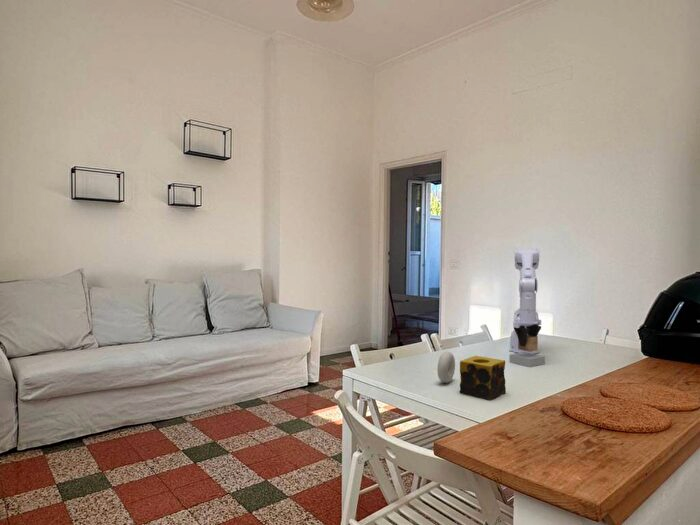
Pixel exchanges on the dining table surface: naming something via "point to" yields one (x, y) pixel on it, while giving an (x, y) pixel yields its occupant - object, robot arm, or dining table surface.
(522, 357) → the base
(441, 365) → the donut
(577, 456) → the dining table surface
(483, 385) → the candle
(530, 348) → the block
